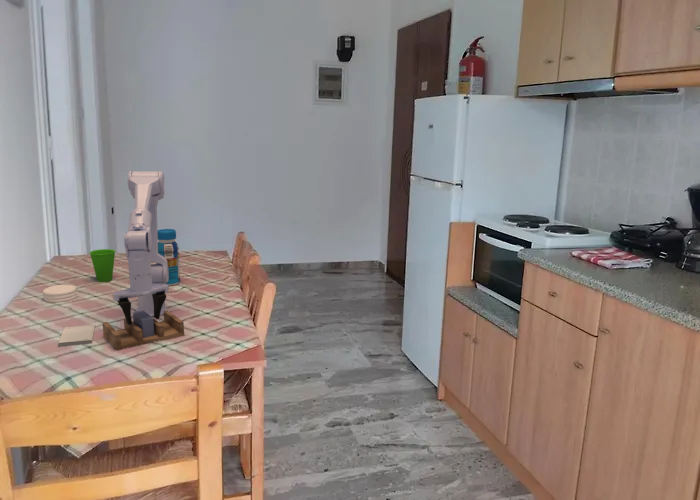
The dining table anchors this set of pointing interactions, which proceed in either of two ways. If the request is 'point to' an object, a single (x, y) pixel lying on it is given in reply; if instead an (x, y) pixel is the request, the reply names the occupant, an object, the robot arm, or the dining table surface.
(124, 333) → the rack
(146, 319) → the tall slate-grey prism
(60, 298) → the coaster
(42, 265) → the dining table surface
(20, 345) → the dining table surface
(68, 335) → the hard drive
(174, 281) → the beverage bottle
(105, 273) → the cup
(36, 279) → the dining table surface
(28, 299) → the dining table surface
